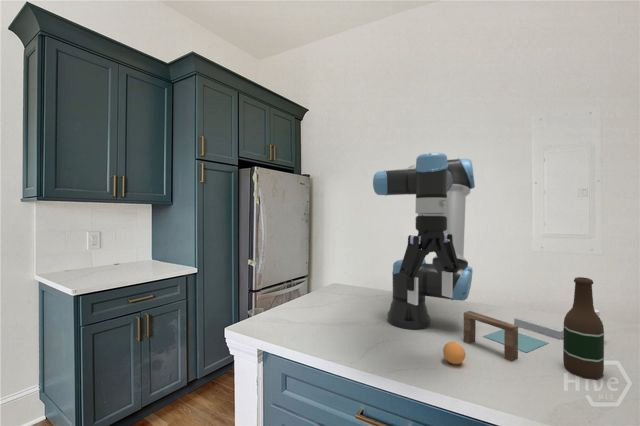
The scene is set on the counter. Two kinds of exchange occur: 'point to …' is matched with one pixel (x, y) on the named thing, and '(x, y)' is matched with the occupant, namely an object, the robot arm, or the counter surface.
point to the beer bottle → (583, 334)
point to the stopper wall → (539, 328)
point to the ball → (454, 352)
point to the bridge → (510, 329)
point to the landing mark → (524, 341)
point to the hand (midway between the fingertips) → (430, 300)
